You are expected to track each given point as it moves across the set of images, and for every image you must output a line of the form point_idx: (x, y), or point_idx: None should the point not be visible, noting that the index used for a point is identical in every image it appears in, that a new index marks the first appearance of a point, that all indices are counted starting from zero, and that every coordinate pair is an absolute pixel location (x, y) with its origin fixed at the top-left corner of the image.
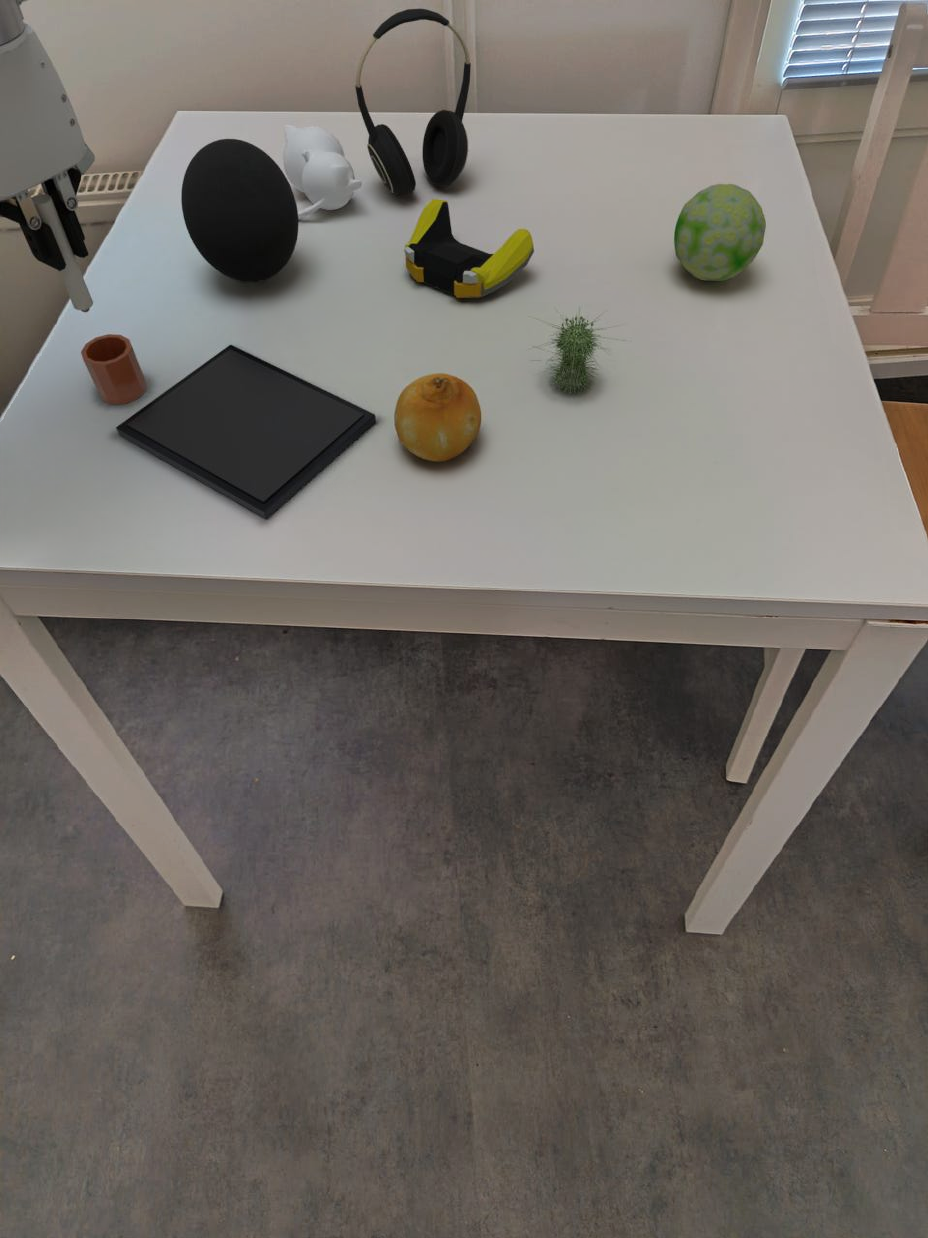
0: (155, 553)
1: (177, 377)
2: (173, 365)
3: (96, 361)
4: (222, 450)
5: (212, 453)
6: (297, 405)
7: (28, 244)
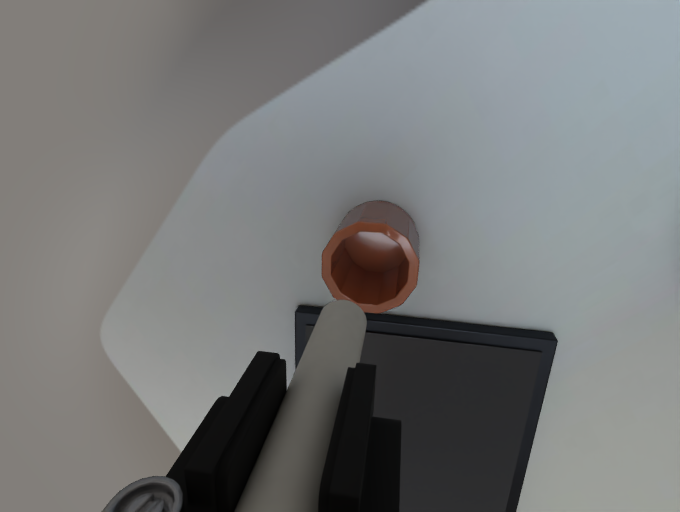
0: None
1: (448, 294)
2: (472, 268)
3: (330, 280)
4: None
5: None
6: (466, 495)
7: (200, 424)
